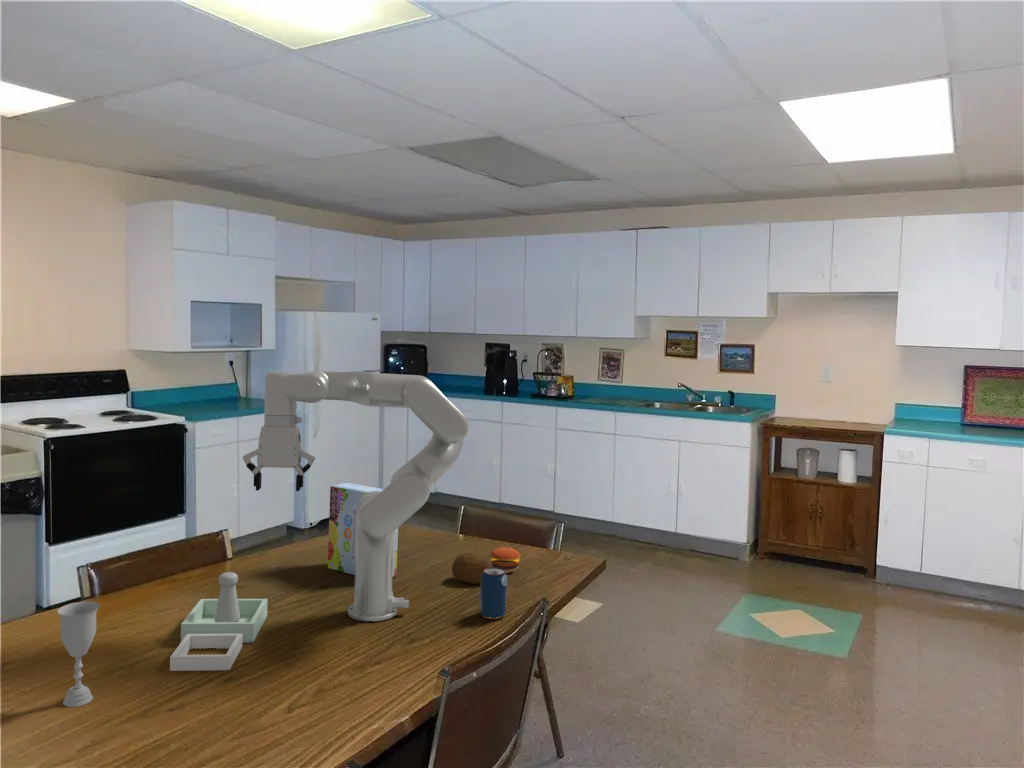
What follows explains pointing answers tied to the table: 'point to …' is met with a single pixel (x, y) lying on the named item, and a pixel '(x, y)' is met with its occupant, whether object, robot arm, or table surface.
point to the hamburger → (505, 558)
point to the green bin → (204, 623)
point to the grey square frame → (206, 662)
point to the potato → (469, 567)
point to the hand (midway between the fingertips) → (278, 489)
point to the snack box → (348, 527)
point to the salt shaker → (227, 599)
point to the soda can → (493, 592)
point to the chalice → (78, 644)
